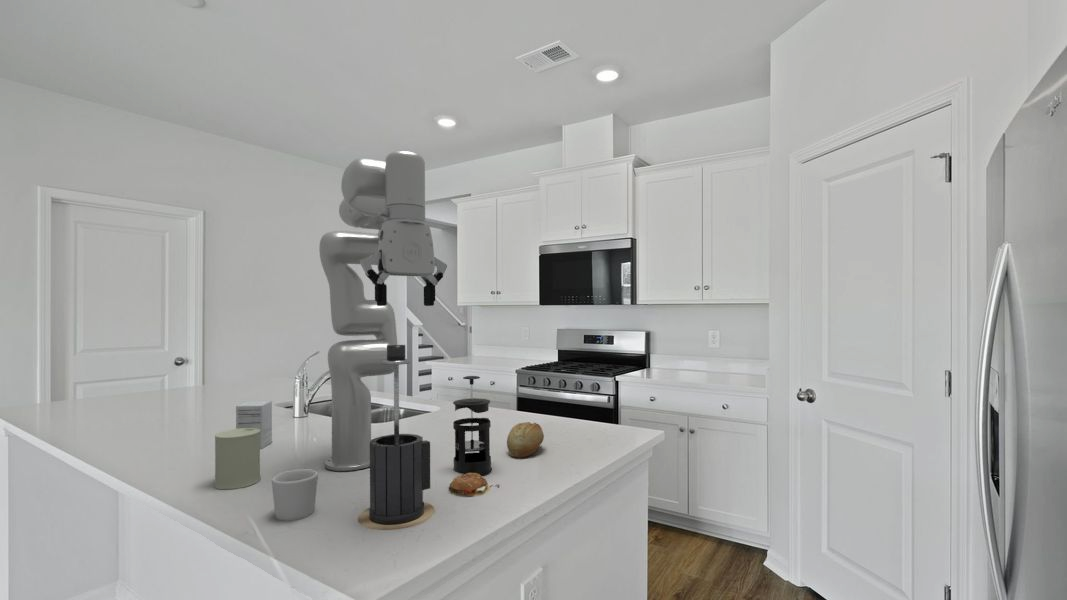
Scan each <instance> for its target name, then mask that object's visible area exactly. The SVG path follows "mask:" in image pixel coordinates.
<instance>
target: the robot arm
mask: <svg viewBox="0 0 1067 600" xmlns="http://www.w3.org/2000/svg"><path fill="white" fill-rule="evenodd" d="M425 165H426V163H425V159H424V158H423V157H422V156H421V155H420V154H418V153H416V152H413V151H407V150H397V151H391V152H390V153H389V154H387V156H386V157H385V160H379V159H375V158H374V159H373V158H372V159H371V158H367V157H366V158H364V157H359V158H356V159H354V160H352V161H351V162H350V163H349V164H348V166H346V168H345V169H344V170H343V174H342V179H341V193H342V196H343V199H342V200H341V202H340V204H339V208H338V216H339V217H340V219H341V221H342V222H343V223H344V224H346V225H348V226H349V227H352V228H355V229H365V230H377V231H378V232H377V233H375V232H373V233H372V232H361V231H350V230H349V231H348V230H335V231H329V232H326V233H324V234H323V235H322V236H321V238H320V241H319V250H318V251H319V258H320V263H321V267H322V269H323V273H324V275H325V277H326V279H327V282H328V287H329V300H330V301H329V303H330V304H329V305H330V314H331V315H330V317H331V324H332V325H331V326H332V329H333V332H334V333H335V334H336V335H338V336H342V337H343V336H345V337H348V336H349V337H350V336H352V337H358V336H374V337H375V339H353V340H342V341H338V342H336V343H334V344H332V345H331V346H330V347H329V349H328V352H327V365H328V370H329V376H330V377H329V378H330V388H331V457H330V458H328V459H326V461H325V462H324V463H325V468H326V470H329V471H335V472H347V471H348V472H350V471H358V470H361V469H362V470H363V469H366V468H370V442H371V440H372V394H371V392H370V389H369V388H368V386H367V385H366V384H365V383H364V382H363V380H362V379H361V378H364V377H376V376H386V375H390V374H394V365H384V364H382V360H387V345H399V343H398V334H397V325H396V324H397V323H396V315H395V312H394V307H393V306H392V305H391V303H389V302H388V301H387V300H388V295H387V293H388V291H387V289H388V287H387V284H386V283H385V281H386V280H387V279H388V278H389V276H395V277H400V276H401V277H420V278H421V279H422V281H423V282H424V283H425V285H424V286H423V306H425V307H433V306H435V301H436V286H437V285H438V283H439V282H441V280H442V279H443V278H444V274H445V272H446V271H447V268H448V264H446V262H444V261H442V260H440V259H439V258H437V257H435V251H434V250H435V249H434V243H433V235H432V230H431V227H430V225H429V224H426V166H425ZM349 264H350V265H361V268H362V269H363V272H364V275H365V276H366V277H367V278H368V279H369V280H370V281H371V283H372V284H373V285H374V299H367V298H366V297H365V289H364V282H363V280H362V279H361V277H360V276H359V274H358V273H357V272H356V271H355V270H354V269H353V268H352V267H351V266H350V265H349ZM372 266H377V271H378V273H377V272H376V271H375V270H374V269H373V267H372ZM435 268H436V269H437V270H436V271H435Z"/></svg>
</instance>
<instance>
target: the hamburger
mask: <svg viewBox="0 0 1067 600" xmlns="http://www.w3.org/2000/svg"><path fill="white" fill-rule="evenodd" d="M494 486H495V487H497V489H499V488H500V484H499V483H498V484H495V485H493V484H491V486H489V483H488V481H487V479H486V478H485V477H484V476H481V475H480V474H476V473H467V474H462V473H461V474H460V475H457V476H455V477H454V478H453V480H452V481H451V482H450V483H449V486H448V491H447V492H450V493H451V494H452V495H454V496H458V497H459V496H460V497H475V496H479V495H485V494H487V493H488V491H489V490H490V488H492V487H494Z"/></svg>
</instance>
